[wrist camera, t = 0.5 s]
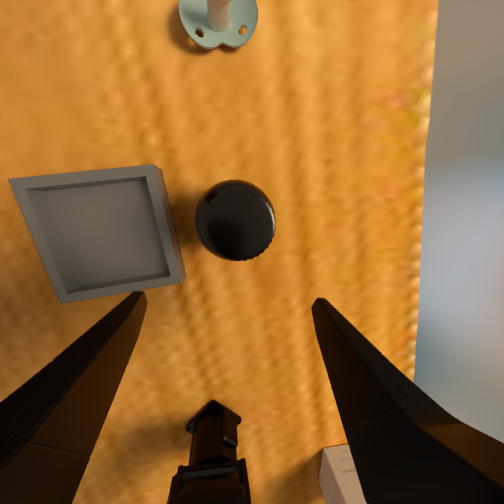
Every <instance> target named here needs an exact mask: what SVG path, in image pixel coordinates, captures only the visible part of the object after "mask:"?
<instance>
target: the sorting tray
mask: <svg viewBox="0 0 504 504" xmlns="http://www.w3.org/2000/svg"><path fill="white" fill-rule="evenodd" d="M8 180H9V182H10V185H11V187H12V189H13V192H14V194H15V197H16V199H17V201H18V204H19V206H20V209H21V211H22V213H23V216H24V218H25V221H26V223H27V225H28V228H29V230H30V233H31V235H32V237H33V240H34V242H35V245H36V247H37V249H38V252H39V254H40V257H41V259H42V261H43V264H44V266H45V269H46V271H47V273H48V276H49V278H50V281H51V283H52V285H53V288H54V290H55V293H56V295H57V297H58V300H59V302H60V304H64V303H69V302H75V301H81V300H87V299H92V298H98V297H104V296H109V295H115V294H121V293H126V292H132V291H138V290H144V289H149V288H155V287H161V286H166V285H172V284H178V283H182V281H183V280H184V278H185V276H186V274H185V270H184V265H183V261H182V256H181V252H180V248H179V243H178V239H177V235H176V230H175V226H174V222H173V217H172V213H171V209H170V204H169V200H168V196H167V191H166V187H165V183H164V178H163V174H162V170H161V169H160V168H158V167H157V166H155V165H154V164H152V165H142V166H132V167H122V168H112V169H102V170H92V171H82V172H72V173H63V174H53V175H43V176H33V177H23V178H13V179H8Z"/></svg>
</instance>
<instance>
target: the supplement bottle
mask: <svg viewBox="0 0 504 504" xmlns="http://www.w3.org/2000/svg"><path fill="white" fill-rule="evenodd" d="M275 222H276V221H275V213H274V209H273V206H272V204H271V202H270V200H269V198H268V197H267V195H266V194H265V193H264V192H263V191H262V190H261V189H260V188H258V187H257V186H255V185H254V184H252V183H249V182H247V181H243V180H227V181H223V182H220V183H218V184H216V185H214V186H212V187H211V188H210V189H209V190H207V191H206V192H205V194H204V195H203V196H202V198H201V199H200V201H199V203H198V205H197V208H196V212H195V228H196V232H197V235H198V237H199V239H200V241H201V242H202V244H203V245H204V246H205V248H206V249H207V250H208V251H209V252H211V253H212V254H214V255H215V256H217V257H219V258H222V259H225V260H229V261H242V260H243V261H246V260H248V259H253V258H254V257H257V256H259V254H261V253H263V252H264V250H265V249H267V248H268V246H269V244H270V243H271V242H272V238H273V237H274V231H275V229H276V228H275Z"/></svg>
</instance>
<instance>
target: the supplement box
mask: <svg viewBox="0 0 504 504" xmlns="http://www.w3.org/2000/svg"><path fill="white" fill-rule="evenodd" d="M319 483H320V486H321V489H322V492H323V495H324V498H325V501H326V504H366V501H365V498H364V495H363V492H362V489H361V485H360V482H359V479H358V475H357V472H356V468H355V465H354V462H353V458H352V455H351V452H350V448H349V445H348V444H345V445H339V446H333V447H327V448H323V453H322V460H321V468H320V475H319Z"/></svg>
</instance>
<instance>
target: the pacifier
mask: <svg viewBox="0 0 504 504" xmlns="http://www.w3.org/2000/svg"><path fill="white" fill-rule="evenodd" d="M179 14H180V18H181V21H182V24H183V27H184V29H185V31H186V32H187V34H188V35H189V37H190V38H191V39H192V40H193V41H194V42H195V43H196V44H197V45H199V46H200V47H202V48H205V49H214V48H216V47H218V46H219V45H221V44H224V45H226V46H228V47H232V48H238V47H241V46H243V45H245V44H246V43H247V42H248V41H249V40H250V39H251V37H252V36H253V34H254V31H255V28H256V25H257V20H258V8H257V4H256V1H255V0H179ZM242 27H244V28H246V30H247V31H246V33H245V34H244V35H240V34H239V33H238V31H239V29H240V28H242ZM196 30H200V31H201V32H202V35H203V36H204V37H202V38H201V37H199V36H197V35H196V33H195V31H196Z"/></svg>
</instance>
